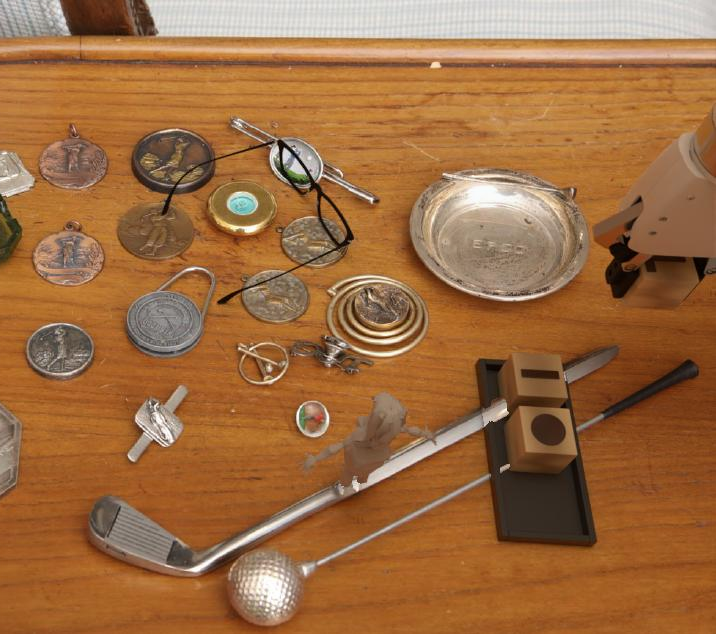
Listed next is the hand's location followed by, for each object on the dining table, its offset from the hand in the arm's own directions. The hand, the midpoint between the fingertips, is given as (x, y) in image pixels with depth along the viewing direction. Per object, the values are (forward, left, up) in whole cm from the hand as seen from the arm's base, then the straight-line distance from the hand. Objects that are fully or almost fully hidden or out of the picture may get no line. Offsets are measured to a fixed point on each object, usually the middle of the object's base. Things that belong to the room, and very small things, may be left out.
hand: (644, 285), depth 80 cm
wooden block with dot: (+7, +11, -12) cm, 18 cm away
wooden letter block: (0, 0, 0) cm, 0 cm away
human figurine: (+24, +16, -13) cm, 32 cm away
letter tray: (+7, +11, -12) cm, 18 cm away
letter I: (+7, +6, -12) cm, 15 cm away
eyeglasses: (+33, -13, -13) cm, 38 cm away
